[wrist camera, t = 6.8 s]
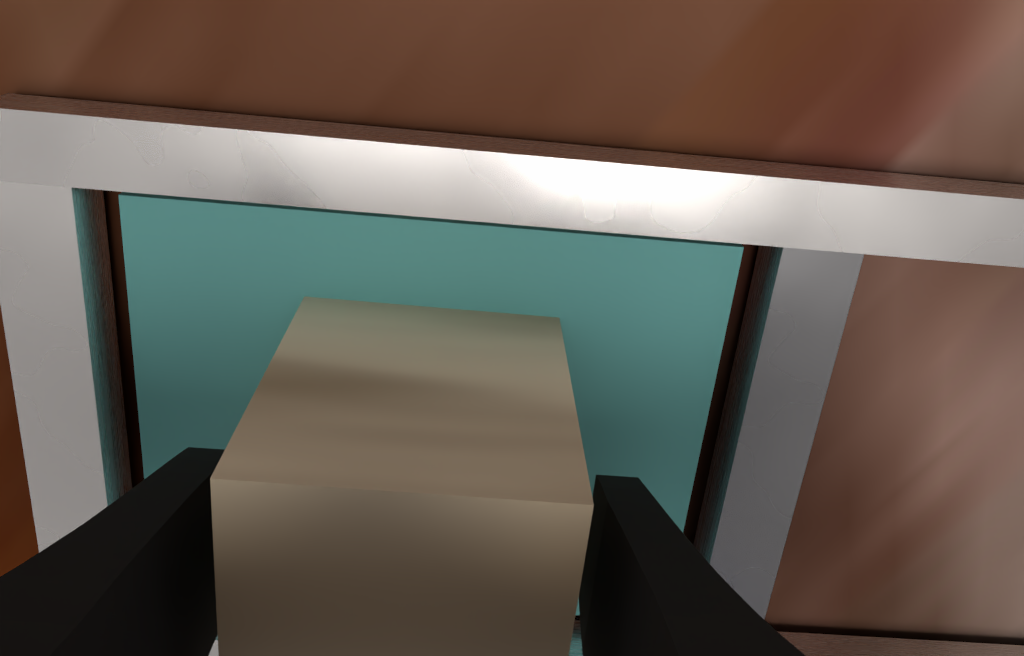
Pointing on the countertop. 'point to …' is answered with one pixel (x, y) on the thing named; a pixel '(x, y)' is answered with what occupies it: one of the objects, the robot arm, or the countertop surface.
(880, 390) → the countertop surface
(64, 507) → the rail frame
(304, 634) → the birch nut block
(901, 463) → the countertop surface
